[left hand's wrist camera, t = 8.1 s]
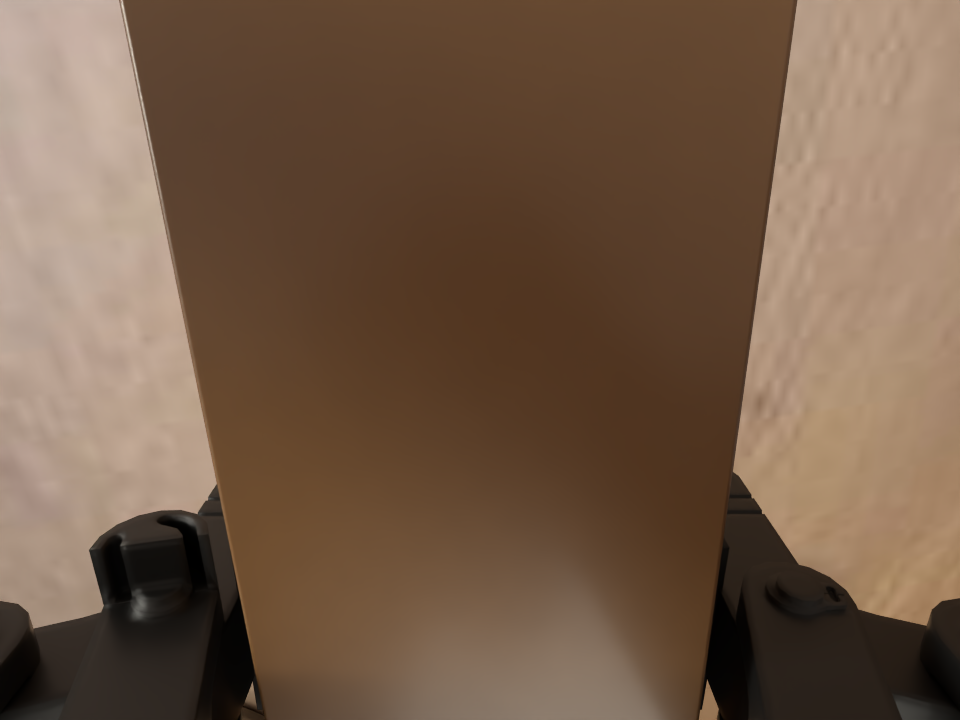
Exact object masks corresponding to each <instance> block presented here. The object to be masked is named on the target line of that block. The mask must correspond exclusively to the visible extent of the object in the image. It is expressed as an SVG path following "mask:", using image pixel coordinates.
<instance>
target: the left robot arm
mask: <svg viewBox="0 0 960 720" xmlns="http://www.w3.org/2000/svg"><path fill="white" fill-rule="evenodd" d="M89 552H90V555H91V559H92V563H93V567H94V570H95V574H96V578H97V582H98V585H99V589H100V593H101V596H102V600H103V604H104V607H103V609H102V612H101V613H97V614H94V615H90V616H87V617H84V618H79V619H75V620H70V621H66V622H61V623H57V624H52V625H48V626H43V627H39V628H34V629H33V626H32V623H31V620H30V617H29V614H28V612H27V611H26V610H24V609H23V608H22V607H21V606H20V605H19V604H14V603H8V602H2V601H0V720H265V718H264V716H263V715H261V714H259V713H256V712H254V711H252V710H249V709H247V708H244V707H243V705H244V702H245V699H246V697H247V694H248V692H249V689H250V686H251V684H252V681H253V686H254V692H255V698H256V703H257V709H258V710H263V708H262V703H261V698H260V693H259V688H258V684H257V679H256V674H255V669H254V664H253V659H252V654H251V649H250V644H249V639H248V634H247V629H246V624H245V619H244V614H243V609H242V604H241V600H240V595H239V590H238V585H237V580H236V575H235V570H234V565H233V560H232V555H231V550H230V545H229V540H228V535H227V530H226V525H225V520H224V516H223V511H222V506H221V501H220V496H219V491H218V486H217V485H216V486H215V488H214V489H213V491H212V492H211V494H210V495H209V497H208V501H205V503H204V504H203V506H202V507H201V509H200V510H199V512H198V514H194V513H190V512H186V511H182V510H168V511H157V512H153V513H148V514H144V515H139V516H137V517H134V518H132V519H129V520H127V521H125V522H122V523H120V524H118V525H116V526H115V527H113V528H112V529H110V530H109V531H107V532H106V533H104V534H103V535H102V536H100V537H99V538H98V540H97V541H96V542H95V543H94V545H93V546H92V547H91V548H90V550H89ZM707 680H708V682H709V685H710V687H711V690H712V693H713V695H714V698H715V700H716V703H717V705H718V708H719V711H718V716H717V720H960V598H958V599H952V600H946V601H942V602H940V603H939V604H938V605H937V606H936V607H935V608H933V609H932V611H931V614H930V617H929V621H928V624H927V626H925V625H920V624H916V623H911V622H906V621H902V620H897V619H893V618H888V617H884V616H879V615H875V614H872V613H868V612H865V611H862V610H858V608H857V606H856V604H855V602H854V601H853V600H852V598H851V597H850V595H849V594H848V592H847V591H846V590H845V589H844V588H843V587H841V586H840V585H839V584H838V583H836V582H835V581H834V580H833V579H831V578H830V577H828V576H826V575H824V574H822V573H820V572H818V571H816V570H814V569H811V568H809V567H805V566H801V565H799V564H798V563H797V562H796V560H795V559H794V557H793V556H792V554H791V553H790V551H789V550H788V548H787V547H786V545H785V544H784V542H783V541H782V539H781V538H780V536H779V535H778V533H777V532H776V530H775V529H774V527H773V526H772V525H771V523H770V522H769V520H768V519H767V517H766V516H765V514H762V510H761V508H760V507H759V505H758V504H757V502H756V501H755V499H754V498H751V493H750V492H749V491H748V489H747V488H746V486H745V485H744V483H743V482H742V480H741V479H740V477H739V476H738V475H736V474H735V473H732V480H731V487H730V495H729V502H728V509H727V517H726V524H725V531H724V539H723V546H722V553H721V560H720V568H719V575H718V582H717V590H716V597H715V604H714V611H713V619H712V626H711V633H710V641H709V648H708V655H707V663H706V670H705V677H704V684H703V692H702V699H701V706H700V710H702V706H703V700H704V694H705V688H706V683H707Z"/></svg>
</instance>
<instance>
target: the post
mask: <svg viewBox="0 0 960 720" xmlns="http://www.w3.org/2000/svg"><path fill="white" fill-rule="evenodd" d="M119 2H120V7H121V12H122V17H123V21H124V26H125V31H126V36H127V41H128V46H129V51H130V56H131V61H132V66H133V71H134V76H135V81H136V86H137V91H138V96H139V101H140V105H141V110H142V115H143V120H144V125H145V130H146V135H147V140H148V145H149V150H150V155H151V160H152V165H153V170H154V175H155V180H156V184H157V189H158V194H159V199H160V204H161V209H162V214H163V219H164V224H165V229H166V234H167V239H168V244H169V249H170V254H171V259H172V264H173V268H174V273H175V278H176V283H177V288H178V293H179V298H180V303H181V308H182V313H183V318H184V323H185V328H186V333H187V338H188V343H189V348H190V352H191V357H192V362H193V367H194V372H195V377H196V382H197V387H198V392H199V397H200V402H201V407H202V412H203V417H204V422H205V427H206V432H207V436H208V441H209V446H210V451H211V456H212V461H213V466H214V471H215V476H216V481H217V486H218V491H219V496H220V501H221V506H222V511H223V516H224V520H225V525H226V530H227V535H228V540H229V545H230V550H231V555H232V560H233V565H234V570H235V575H236V580H237V585H238V590H239V595H240V600H241V604H242V609H243V614H244V619H245V624H246V629H247V634H248V639H249V644H250V649H251V654H252V659H253V664H254V669H255V674H256V679H257V684H258V688H259V693H260V698H261V703H262V708H263V713H264V718H265V720H699V714H700V706H701V699H702V692H703V684H704V677H705V670H706V663H707V655H708V648H709V641H710V633H711V626H712V619H713V611H714V604H715V597H716V590H717V582H718V575H719V568H720V560H721V553H722V546H723V539H724V531H725V524H726V517H727V509H728V502H729V495H730V487H731V480H732V473H733V466H734V458H735V451H736V444H737V436H738V429H739V422H740V414H741V407H742V400H743V393H744V385H745V378H746V371H747V363H748V356H749V349H750V341H751V334H752V327H753V320H754V312H755V305H756V298H757V290H758V283H759V276H760V269H761V261H762V254H763V247H764V239H765V232H766V225H767V217H768V210H769V203H770V196H771V188H772V181H773V174H774V166H775V159H776V152H777V144H778V137H779V130H780V123H781V115H782V108H783V101H784V93H785V86H786V79H787V72H788V64H789V57H790V50H791V42H792V35H793V28H794V20H795V13H796V6H797V0H119Z"/></svg>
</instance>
